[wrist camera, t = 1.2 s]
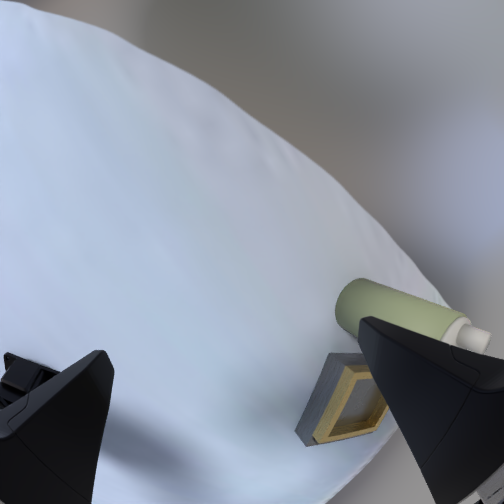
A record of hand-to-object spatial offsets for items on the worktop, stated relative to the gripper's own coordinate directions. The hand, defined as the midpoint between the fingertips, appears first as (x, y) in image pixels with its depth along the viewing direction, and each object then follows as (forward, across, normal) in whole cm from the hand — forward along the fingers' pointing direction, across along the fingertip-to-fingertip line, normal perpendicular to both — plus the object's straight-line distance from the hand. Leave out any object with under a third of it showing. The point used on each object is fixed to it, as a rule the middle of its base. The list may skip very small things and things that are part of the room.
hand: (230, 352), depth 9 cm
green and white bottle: (+15, -12, +9) cm, 21 cm away
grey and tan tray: (+14, -11, +20) cm, 27 cm away
